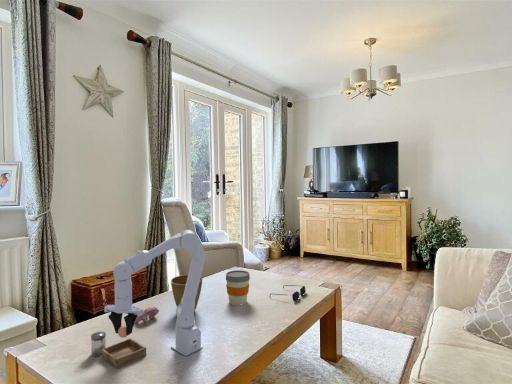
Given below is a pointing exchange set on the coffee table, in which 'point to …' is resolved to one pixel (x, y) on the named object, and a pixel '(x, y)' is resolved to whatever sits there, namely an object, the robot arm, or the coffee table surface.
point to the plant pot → (183, 288)
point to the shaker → (98, 343)
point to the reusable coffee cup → (237, 286)
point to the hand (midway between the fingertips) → (123, 333)
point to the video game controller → (147, 314)
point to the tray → (123, 352)
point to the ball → (122, 331)
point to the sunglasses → (296, 294)
